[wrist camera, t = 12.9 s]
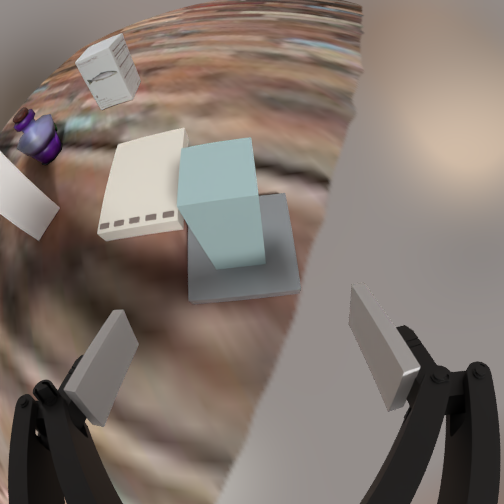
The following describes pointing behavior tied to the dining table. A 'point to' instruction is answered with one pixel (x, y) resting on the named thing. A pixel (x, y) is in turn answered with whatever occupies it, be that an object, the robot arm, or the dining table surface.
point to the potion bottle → (37, 136)
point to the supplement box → (109, 72)
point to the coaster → (249, 277)
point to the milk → (24, 201)
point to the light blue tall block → (222, 202)
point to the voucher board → (143, 187)
